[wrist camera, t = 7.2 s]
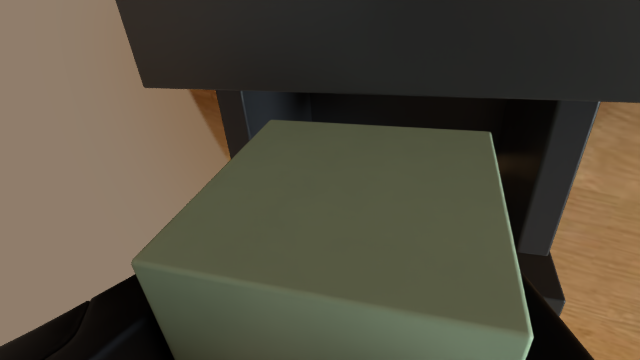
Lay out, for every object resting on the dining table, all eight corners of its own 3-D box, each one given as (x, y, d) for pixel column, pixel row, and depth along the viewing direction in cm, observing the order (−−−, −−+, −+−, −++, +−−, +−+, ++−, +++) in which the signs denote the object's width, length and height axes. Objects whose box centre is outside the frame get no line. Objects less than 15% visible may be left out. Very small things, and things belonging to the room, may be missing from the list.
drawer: (501, 267, 19) (523, 405, 13) (304, 238, 21) (253, 342, 16) (622, -196, 10) (843, -365, 4) (259, -140, 13) (111, -198, 7)
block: (460, 295, 9) (466, 522, 6) (291, 266, 10) (209, 438, 7) (491, 130, 7) (538, 339, 3) (269, 118, 8) (127, 261, 4)
